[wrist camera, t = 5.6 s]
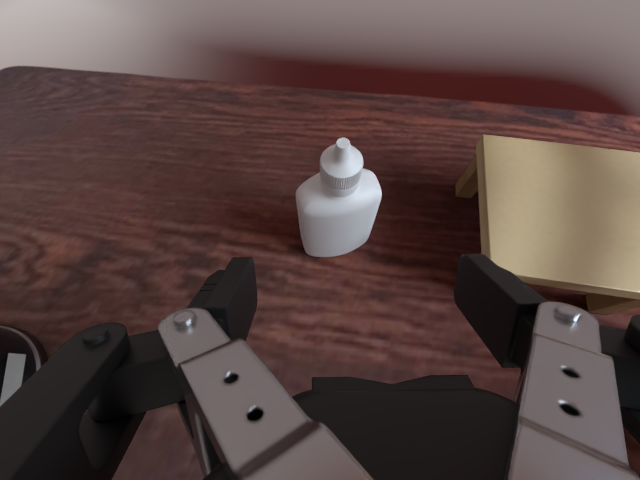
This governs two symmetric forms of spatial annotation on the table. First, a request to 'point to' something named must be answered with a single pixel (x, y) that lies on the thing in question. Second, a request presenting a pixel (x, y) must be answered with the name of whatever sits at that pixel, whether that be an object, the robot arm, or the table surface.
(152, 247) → the table surface
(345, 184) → the eye dropper bottle
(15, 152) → the table surface
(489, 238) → the stand
